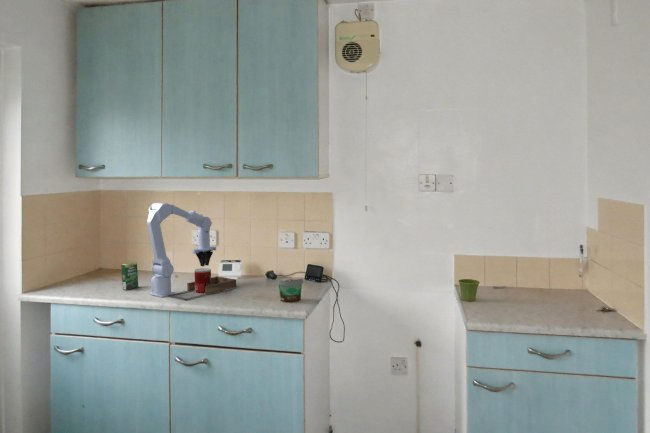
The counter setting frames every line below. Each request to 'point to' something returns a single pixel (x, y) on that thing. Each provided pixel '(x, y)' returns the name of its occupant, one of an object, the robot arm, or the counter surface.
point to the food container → (290, 290)
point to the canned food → (202, 279)
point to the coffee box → (129, 276)
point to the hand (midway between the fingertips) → (204, 265)
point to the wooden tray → (215, 285)
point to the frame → (185, 298)
